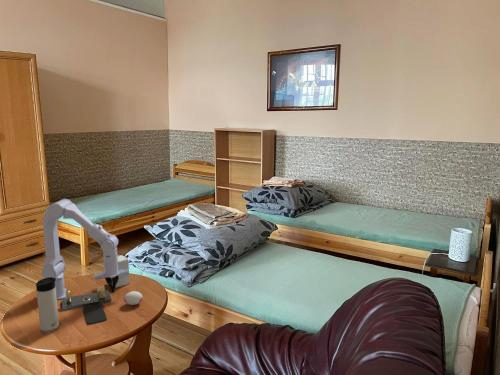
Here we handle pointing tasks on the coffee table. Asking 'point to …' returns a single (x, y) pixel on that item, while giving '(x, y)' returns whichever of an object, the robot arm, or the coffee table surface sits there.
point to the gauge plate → (83, 300)
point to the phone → (94, 314)
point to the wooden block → (101, 292)
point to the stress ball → (133, 298)
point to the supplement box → (123, 265)
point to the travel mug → (47, 305)
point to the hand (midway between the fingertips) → (112, 292)
